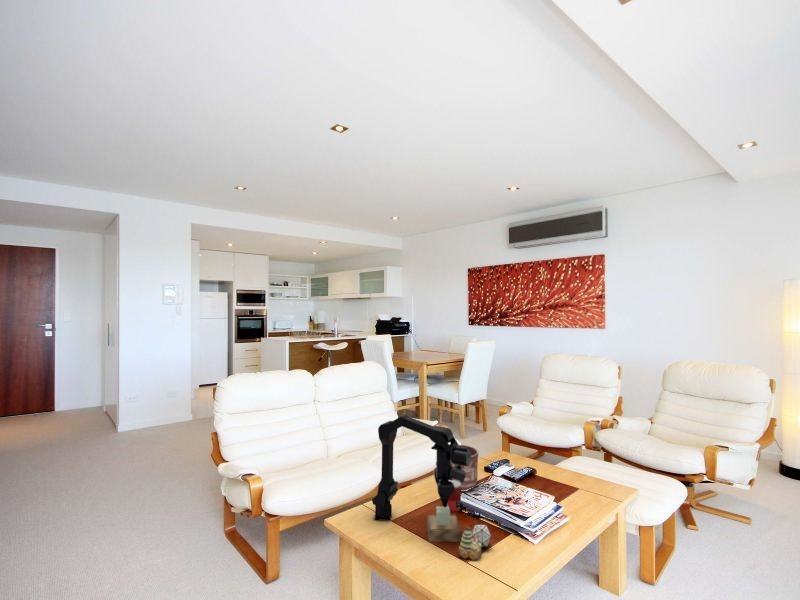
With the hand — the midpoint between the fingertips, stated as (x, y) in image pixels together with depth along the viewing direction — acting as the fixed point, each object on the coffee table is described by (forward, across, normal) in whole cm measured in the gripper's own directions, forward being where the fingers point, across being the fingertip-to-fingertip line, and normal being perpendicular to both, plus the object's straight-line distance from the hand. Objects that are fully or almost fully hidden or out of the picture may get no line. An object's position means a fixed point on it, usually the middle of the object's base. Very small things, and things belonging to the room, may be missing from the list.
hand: (443, 501), depth 169 cm
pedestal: (+12, 0, 0) cm, 12 cm away
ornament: (+13, -15, -8) cm, 21 cm away
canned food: (+12, +21, -6) cm, 25 cm away
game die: (+13, -9, -13) cm, 20 cm away
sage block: (+8, 0, 0) cm, 8 cm away
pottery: (+12, +43, -13) cm, 47 cm away
